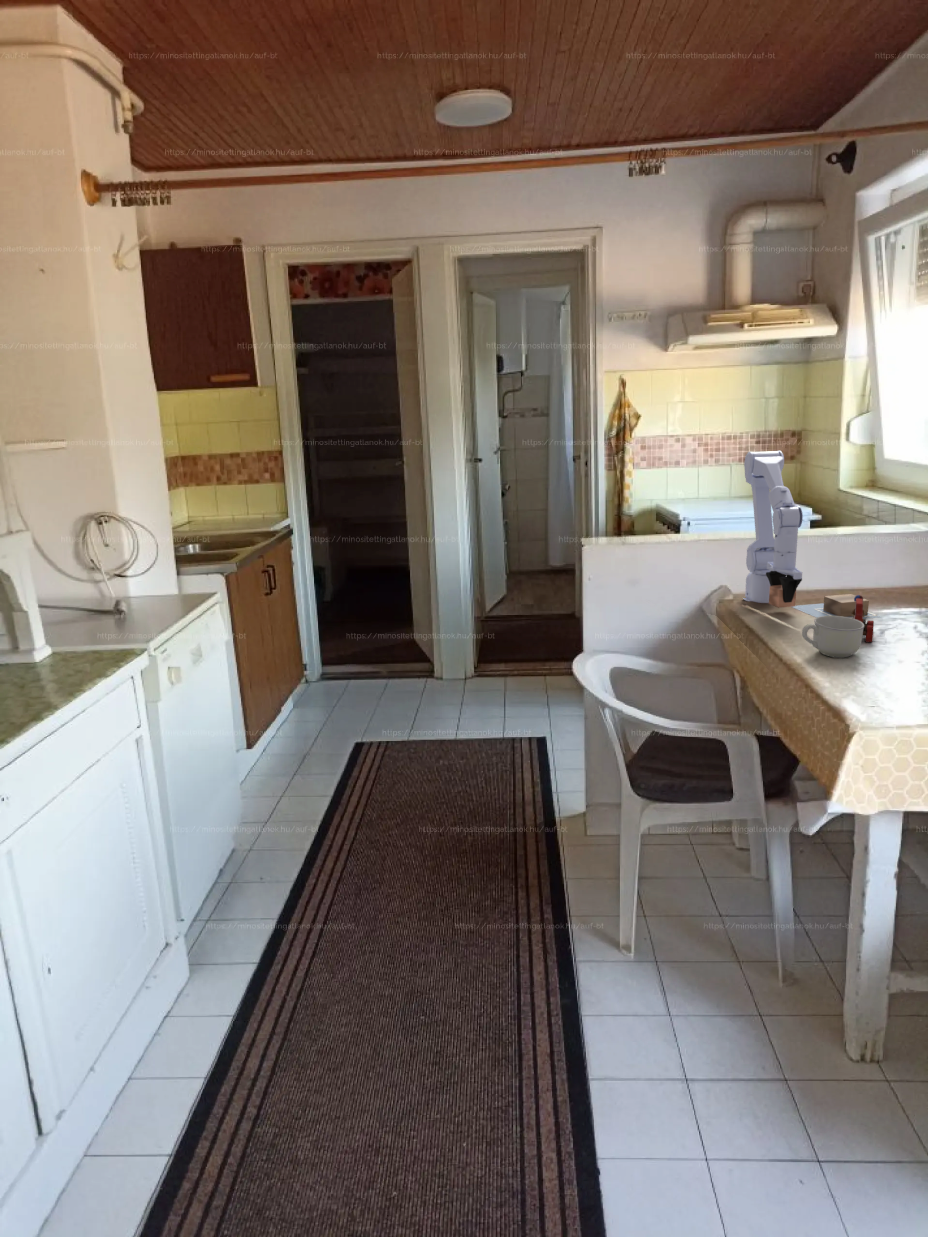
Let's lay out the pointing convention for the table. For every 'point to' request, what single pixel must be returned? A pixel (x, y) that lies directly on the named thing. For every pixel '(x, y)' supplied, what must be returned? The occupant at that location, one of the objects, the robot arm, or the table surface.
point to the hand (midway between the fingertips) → (782, 599)
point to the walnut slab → (842, 605)
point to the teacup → (835, 635)
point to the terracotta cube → (779, 597)
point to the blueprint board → (818, 611)
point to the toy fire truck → (859, 614)
